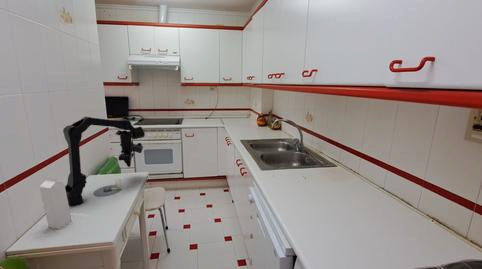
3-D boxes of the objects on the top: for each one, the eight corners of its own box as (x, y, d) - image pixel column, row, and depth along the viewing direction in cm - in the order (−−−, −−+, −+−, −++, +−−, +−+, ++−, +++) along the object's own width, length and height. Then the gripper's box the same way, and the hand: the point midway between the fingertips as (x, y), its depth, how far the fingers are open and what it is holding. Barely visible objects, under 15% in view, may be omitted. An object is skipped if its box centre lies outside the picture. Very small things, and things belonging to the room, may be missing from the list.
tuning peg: (102, 192, 131) (100, 182, 130) (105, 189, 135) (103, 179, 134) (120, 190, 133) (119, 180, 131) (122, 187, 137) (121, 177, 135)
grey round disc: (87, 197, 129) (86, 195, 128) (106, 185, 142) (106, 183, 142) (109, 199, 126) (109, 197, 125) (127, 187, 139) (127, 186, 138)
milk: (61, 219, 108) (52, 173, 104) (72, 221, 107) (63, 175, 102) (47, 227, 103) (37, 179, 98) (58, 229, 101) (48, 180, 96)
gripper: (138, 144, 131) (141, 171, 134) (143, 136, 148) (145, 160, 152) (116, 145, 128) (120, 173, 132) (123, 137, 146) (126, 162, 149)
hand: (129, 166), depth 141 cm, fingers closed
